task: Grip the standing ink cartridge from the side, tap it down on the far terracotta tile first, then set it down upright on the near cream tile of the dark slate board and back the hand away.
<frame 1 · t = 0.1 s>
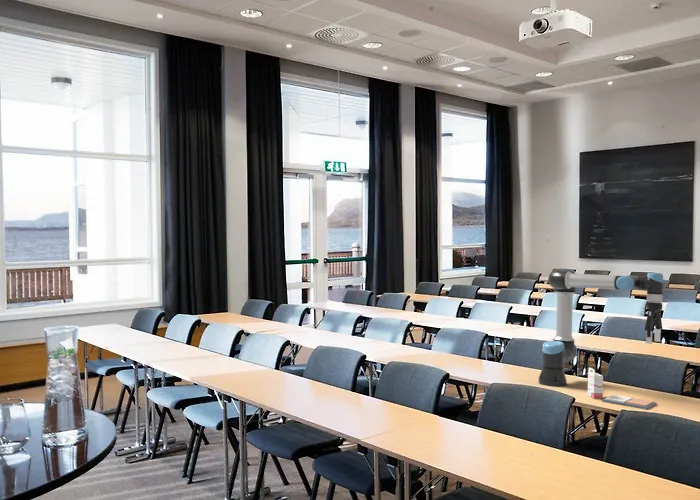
hand: (653, 342, 327), 28 cm above the table, tool pointing down, fingers open, 13 cm apart
ink cartridge box: (595, 397, 319), on the table
tile board: (629, 403, 308), on the table
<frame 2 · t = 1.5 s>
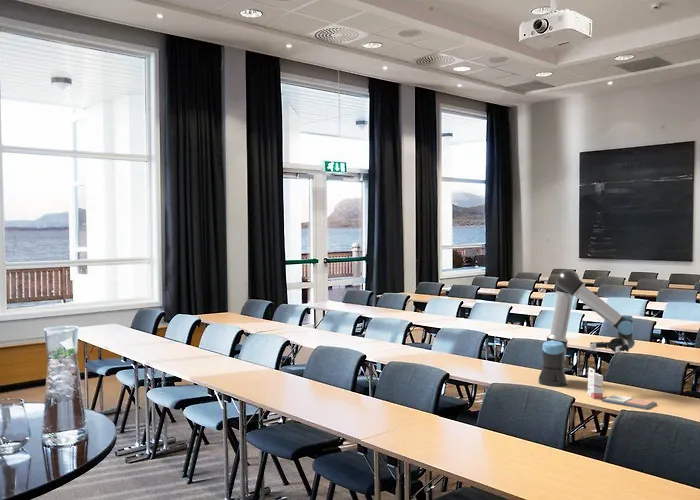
hand: (603, 348, 326), 24 cm above the table, tool horizontal, fingers open, 13 cm apart
nothing on the table moved.
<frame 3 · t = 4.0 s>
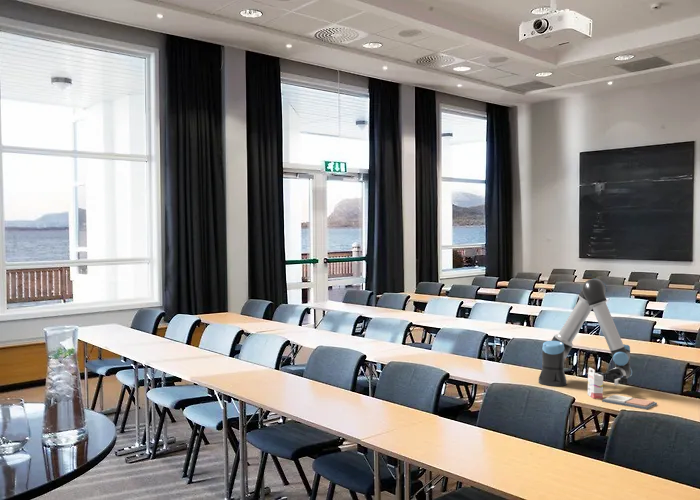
hand: (601, 380, 324), 8 cm above the table, tool horizontal, fingers open, 13 cm apart
nothing on the table moved.
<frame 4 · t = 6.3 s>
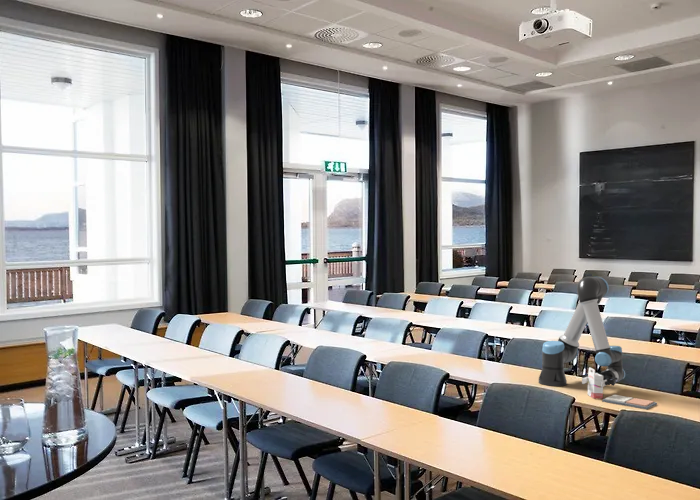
hand: (592, 382, 316), 8 cm above the table, tool horizontal, fingers closed on ink cartridge box, 9 cm apart
ink cartridge box: (595, 397, 319), on the table, touching gripper
everything else where it was.
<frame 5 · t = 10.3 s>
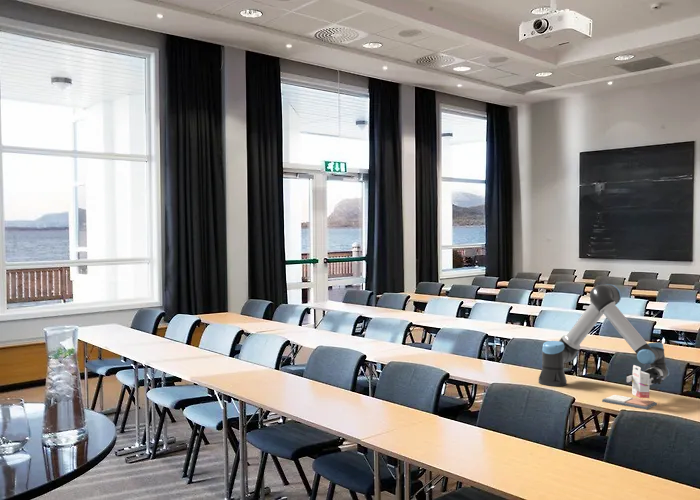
hand: (637, 381, 301), 12 cm above the table, tool horizontal, fingers closed on ink cartridge box, 9 cm apart
ink cartridge box: (640, 396, 304), point 4 cm above the table, touching gripper
everything else where it was.
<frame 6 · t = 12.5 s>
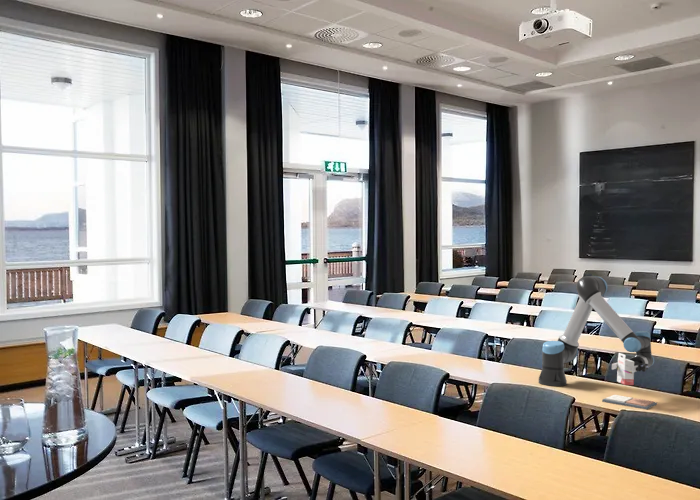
hand: (622, 368, 306), 17 cm above the table, tool horizontal, fingers closed on ink cartridge box, 9 cm apart
ink cartridge box: (625, 383, 309), point 9 cm above the table, touching gripper
everything else where it was.
when the fingers open (11 cm above the table, at t = 14.6 s): ink cartridge box stays where it is, resting on tile board.
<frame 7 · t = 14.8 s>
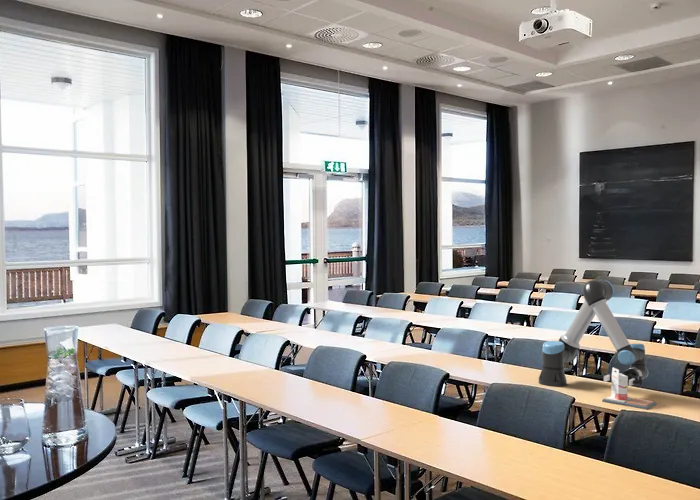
hand: (616, 381, 308), 11 cm above the table, tool horizontal, fingers open, 11 cm apart
ink cartridge box: (619, 398, 311), point 1 cm above the table, touching tile board
everything else where it was.
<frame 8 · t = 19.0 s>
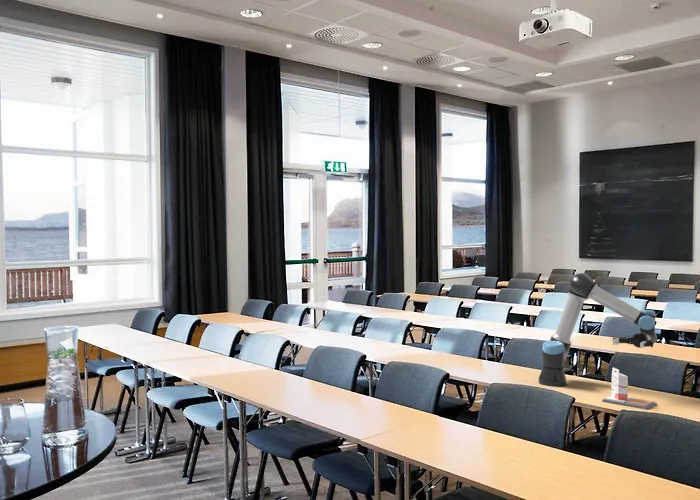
hand: (627, 343, 318), 28 cm above the table, tool horizontal, fingers open, 13 cm apart
nothing on the table moved.
at the end: ink cartridge box inside the target area (0.1 cm from its centre), point 1.4 cm above the table; ink cartridge box tilted 0°; the gripper is holding nothing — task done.
